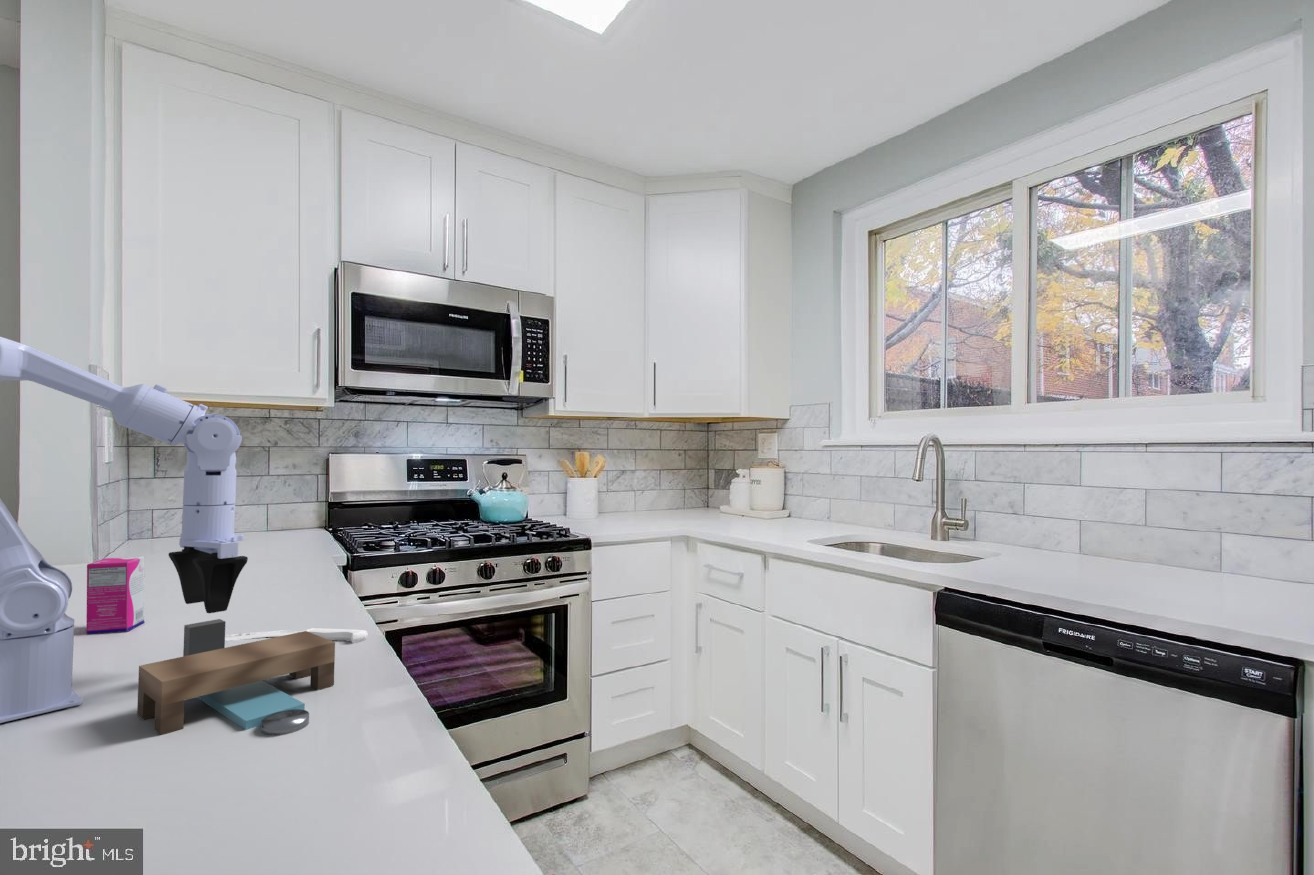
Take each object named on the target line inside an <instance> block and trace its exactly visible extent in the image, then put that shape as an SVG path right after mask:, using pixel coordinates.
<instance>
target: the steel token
mask: <svg viewBox="0 0 1314 875" xmlns="http://www.w3.org/2000/svg"><path fill="white" fill-rule="evenodd" d="M309 723H310V712H309V711H308V710H300V709H293V710H285V711H280V712H276V713H273V714H271V715H268V716H267V717H265V718H264V719H263V720H262V721H261V726H260V731H261V733H262V734H263V735H266V736H282V735H284V736H285V735H289V734H292V733H296V732H299V731H302V729H304V728H306V727H307V726H308V725H309Z"/></svg>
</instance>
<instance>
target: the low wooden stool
mask: <svg viewBox="0 0 1314 875" xmlns="http://www.w3.org/2000/svg"><path fill="white" fill-rule="evenodd" d="M302 631H303V632H299V633H294V634H289V635H284V636H279V637H269V638H264V639H261V640H256V641H250V642H247V643H241V644H238V645H232V646H228V647H225V648H222V649H217V650H212V651H207V652H203V653H198V654H193V655H188V656H183V655H182V656H180V657H179V656H178V657H175V658H170V659H166V660H160V661H155V662H151V663H146V664H141V665H138V682H137V683H138V684H137V685H138V686H137V711H136V713H137V714H136V715H137V716H138V717H139V719H141V720H143V721H144V720H146V719H147V720H148V719H150V718H154V722H153V723H154V726H153V729H154V731H155V732H156V733H158V735H165V734H167V733H168V734H169V733H172V732H176V731H179V730H182V729H184V725H185V723H184V722H185V721H184V720H185V701H186V700H191V699H194V698H197V697H199V696H203V695H207V694H211V693H214V692H218V691H222V690H226V689H230V688H234V687H238V686H242V685H246V684H250V683H254V682H258V681H261V680H262V681H265V680H268V679H272V678H276V677H280V676H284V675H288V676H289V677H291V678H293V679H294V680H299V679H302V678H305V677H309V676H310V681H309V682H310V685H309V686H310V687H311V688H313V689H314V690H317V689H320V690H323V689H326V687H327V688H329V687H330V688H331V687H333V685H334V686H335V664H336V663H335V660H336V659H335V658H336V642H335V641H331V640H328V639H326V638H323V637H320V636H318V635H315V634H313V633H310V632H307V631H305V630H302ZM298 678H299V679H298Z"/></svg>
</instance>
